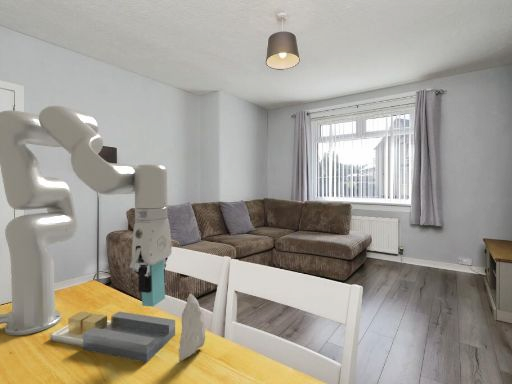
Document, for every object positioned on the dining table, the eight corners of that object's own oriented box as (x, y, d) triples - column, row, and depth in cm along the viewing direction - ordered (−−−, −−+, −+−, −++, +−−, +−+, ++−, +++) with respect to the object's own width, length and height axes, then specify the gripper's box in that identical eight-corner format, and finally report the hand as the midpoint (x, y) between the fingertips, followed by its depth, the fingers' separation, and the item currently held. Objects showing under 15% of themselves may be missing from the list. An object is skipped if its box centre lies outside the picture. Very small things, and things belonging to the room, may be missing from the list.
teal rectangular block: (141, 305, 67) (139, 261, 66) (154, 297, 72) (153, 256, 71) (153, 306, 66) (151, 262, 66) (165, 298, 71) (163, 256, 71)
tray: (50, 340, 71) (50, 334, 71) (83, 321, 81) (83, 316, 81) (84, 347, 68) (84, 341, 68) (115, 326, 78) (114, 321, 78)
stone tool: (184, 367, 61) (184, 301, 61) (174, 363, 63) (174, 298, 62) (209, 347, 69) (209, 288, 68) (199, 344, 70) (199, 285, 70)
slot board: (83, 349, 67) (82, 333, 67) (119, 325, 79) (119, 311, 79) (147, 362, 63) (147, 345, 63) (175, 334, 74) (175, 319, 74)
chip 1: (68, 332, 74) (68, 318, 73) (81, 325, 77) (81, 311, 77) (80, 335, 73) (80, 320, 72) (93, 327, 76) (93, 313, 76)
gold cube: (82, 335, 72) (82, 320, 72) (95, 327, 76) (95, 313, 76) (95, 337, 71) (95, 322, 71) (107, 330, 75) (107, 315, 75)
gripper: (142, 219, 59) (143, 303, 60) (182, 211, 75) (183, 277, 76) (112, 218, 61) (114, 299, 61) (158, 211, 77) (159, 275, 78)
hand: (152, 286), depth 69 cm, fingers closed on teal rectangular block, 4 cm apart
